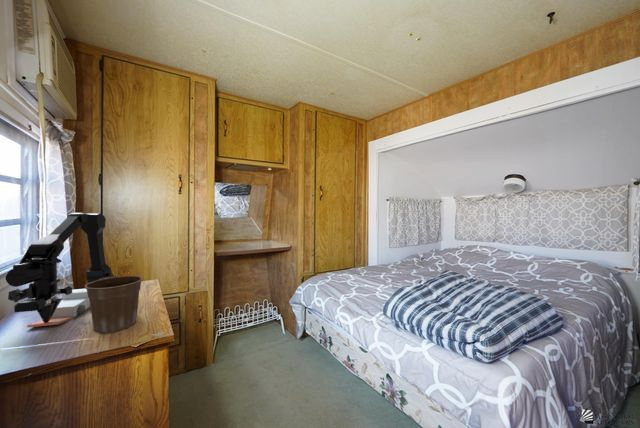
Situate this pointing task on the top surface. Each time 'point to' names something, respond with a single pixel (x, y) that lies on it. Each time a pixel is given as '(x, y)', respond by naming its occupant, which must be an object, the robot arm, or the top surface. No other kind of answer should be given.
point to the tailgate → (50, 322)
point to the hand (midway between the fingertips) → (46, 322)
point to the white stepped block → (72, 304)
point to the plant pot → (114, 302)
